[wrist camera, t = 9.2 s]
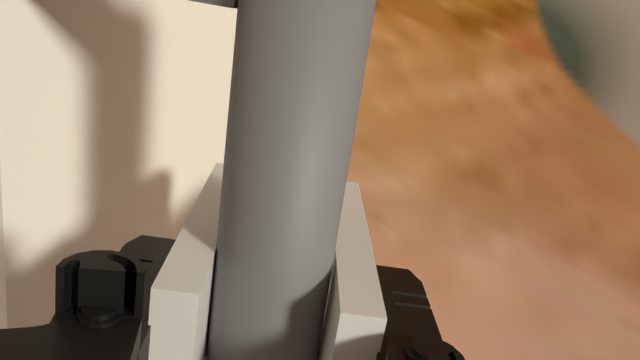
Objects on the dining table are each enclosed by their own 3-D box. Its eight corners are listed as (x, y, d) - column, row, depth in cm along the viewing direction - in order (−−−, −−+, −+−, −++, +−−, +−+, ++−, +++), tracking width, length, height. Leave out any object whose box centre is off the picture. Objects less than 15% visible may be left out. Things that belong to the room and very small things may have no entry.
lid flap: (-80, -240, 10) (382, -223, 7) (301, -94, 24) (503, -71, 21) (-25, 519, 15) (248, 677, 13) (257, 275, 30) (414, 327, 27)
